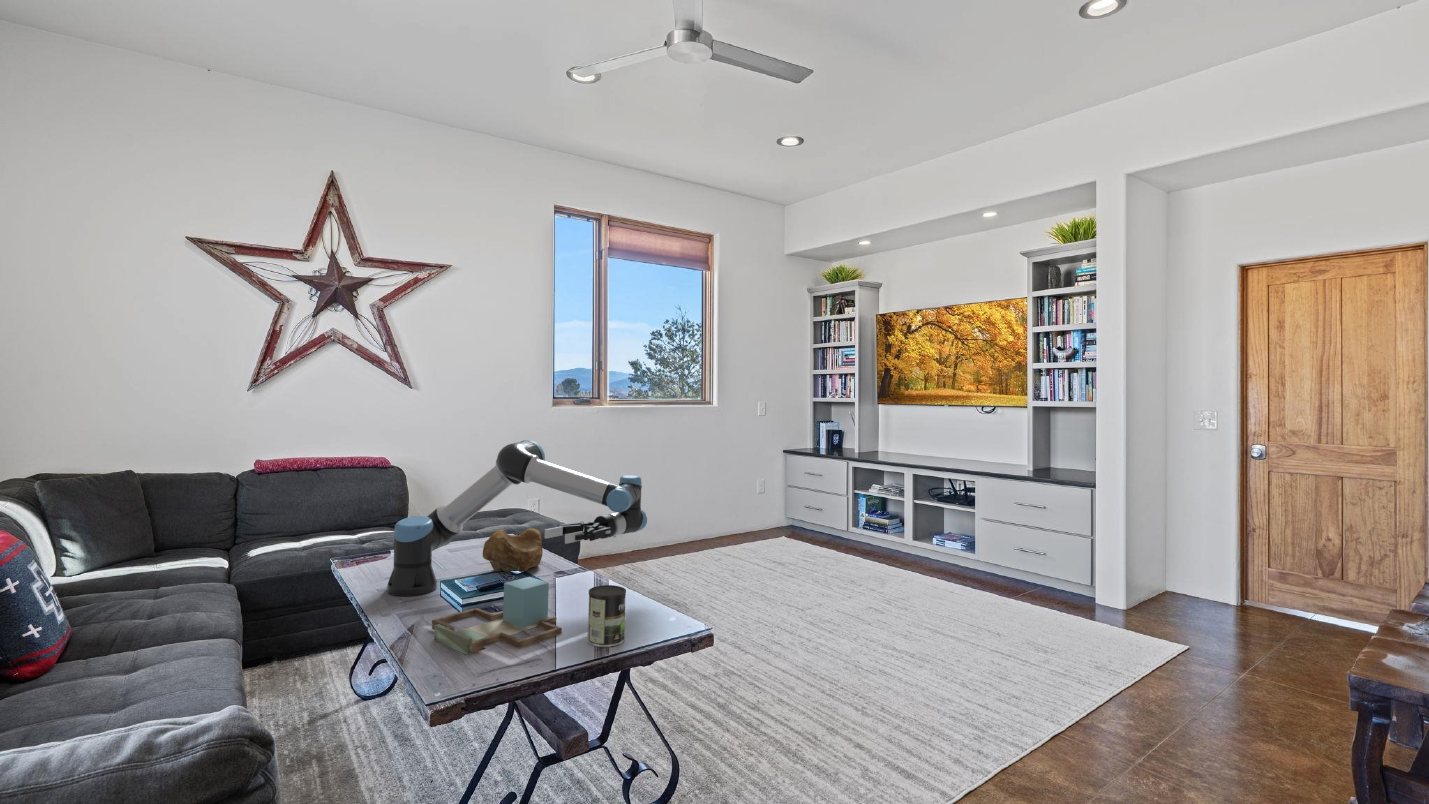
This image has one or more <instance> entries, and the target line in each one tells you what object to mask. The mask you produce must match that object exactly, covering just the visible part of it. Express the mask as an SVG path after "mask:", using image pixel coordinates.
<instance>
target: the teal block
mask: <svg viewBox="0 0 1429 804" xmlns="http://www.w3.org/2000/svg"><path fill="white" fill-rule="evenodd" d="M549 586H550V582H547V581H545V580H540V579H537V578H534V577H531V576H527V577H524V578H519V579H515V580H510V581H507V582H504V583H503V605H502V607H503V609H502V611H503V621H506V622H509V623H511V624H514V625H516V626H519V627H522V628H524V627H527V626H530V625H533V624H536V623H537V621H539V620H542V619H545V618H548V616H549V590H550V588H549Z"/></svg>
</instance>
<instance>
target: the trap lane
mask: <svg viewBox="0 0 1429 804" xmlns="http://www.w3.org/2000/svg"><path fill="white" fill-rule="evenodd" d="M473 616H476V617H477V616H478V617H480V618H482V619H485V620H488V621H487V622H483V623H480V624H477V625H473V626H470V627H467V628H465V629H461V630H457V631H456V630H455V626H454V625H451V624H448V623H451V622H454V621H458V620H462V619H465V618H469V617H473ZM554 623H557V616H555V615H551V616H549V617H548V618H545V619H542V620H539V621H537V623H536V624H533V625H530V626H527V627H524V628H522V627H519V626H516V625H514V624H511V623H509V622H506V621H503V610H502V611H499V612H494V613H491V612H489V611H486V610H484V609H481V608H479V607H474V608H471V609H467V610H464V611H460V612H456V613H453V614H449V615H446V616H442V617H438V618H435V619H431V629H432V630H433V631H434V638H433V639H434V641H436V642H438V643H440V644H443V645H445V646H447V647H449V648H452V649H453V650H456V651H458V652H460V653H462V654H464V655H466V656H468V655H471V654H474V653H477V652H481V651H483V650H486V649H487V648H485V646H488V645H491V644H494V643H498V642H499V641H500V642H503V643H506V644H508V645H511V646H513V647H515V648H518V649H520V648H523V647H526V646H528V645H531V644H535V643H537V642H540V641H543V640H546V639H549V638H552V637H555V636H558V635H561V634H562V631H563V628H562V627H561V626H558V625H555V624H554ZM536 627H538V628H540V629H543V630H545V631H542V632H539V633H537V634H533V635H530V636H527V637H525V638H521V639H519V638H516V637H514V636H513V635H514V634H518V633H522V632H524V631H527V630H530V629H533V628H536Z"/></svg>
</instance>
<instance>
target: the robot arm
mask: <svg viewBox="0 0 1429 804" xmlns="http://www.w3.org/2000/svg"><path fill="white" fill-rule="evenodd" d="M545 455H546V454H545V451H544V449H543V447H542V446H541V445H540V443H537V442H536V441H535V440H527V439H526V440H521V441H519V442H513V443H509V444H507V445H505V446H503V447H502V448H501V449H500V451H499V452H498V455H497V458H496V459H495V465H494V466H493V467H492V468H491V469H490V470H488V471H487V472H486V473H485V474H484V475H483V476H481V477H480V478H479V479H478V480H476V481H475V482H474V483H473V484H471V485H470V486H468V487H467V488H466V490H464V491H463V492H462V493H461V494H460V495H458V496H457V497H456V498H454V499H453V500H452V501H451V502H449V504H447V505H439V506H438V507H437V508H435V509H434V510H433V511H432V512H431V513H429V514H428V515H427V516H423V515H421V516H419V515H418V516H411V517H406V518H403V519H401V520H398V521H397V522H396V523H395V525H394V532H393V568H392V571H391V574H390V576H389V579H388V583H387V586H386V587H387V588H386V592H387V594H389V595H392V596H398V597H409V596H410V597H412V596H420V595H424V594H428V593H431V592H433V591H435V590H437V587H438V585H437V584H438V583H437V577H436V574H435V571H434V569H433V563H432V559H433V557H432V556H433V551H435V550H437V549H440V548H441V547H445V546H447V545H448V544H450V543H451V542H453V540H455V538H456V537H457V536H458V534H460V532H462V531H463V529H464V527H463V526H464V524H465V523H467V521H469V520H470V519H471V518H472V517H474V516H475V515H476V514H477V513H478V512H480V511H481V510H482V509H483V508H485V507H486V506H487V505H489V504H490V503H491V502H492V501H493V500H494V499H496V498H497V497H498V496H499V495H501V494H502V493H503V492H505V490H507V489H508V488H510V486H511V485H515V486H518V485H519V484H521V483H523V484H524V483H525V484H529V483H535V484H537V485H541V486H545V487H547V488H551V489H553V490H556V491H560V492H562V493H565V494H568V495H571V496H575V497H578V498H581V499H584V500H587V501H590V502H594V503H596V504H599V505H602V506H604V507H605V506H606V507H608V509H609V510H610V511H611V512H613V513H608V514H602V515H598V516H597V517H595V518H594V520H593V521H588V522H585V521H577V522H570V523H562V524H557V527H552V528H551V527H550V528H545V529H544V539H551V538H555V537H560V538H561V537H563V535H564V544H565V545H568V544H571V543H575V542H579V541H583V540H584V541H590V542H593V541H596V540H600V539H601V540H602V539H607V538H611V537H613V538H617V536H622V535H625V534H631V533H637V532H639V531H641V530H643V529H645V527H647V524H648V517H647V514H646V512H645V511H644V510H643V509H642V507H641V506H642V488H643V487H642V486H643V485H642V478H641V476H638V475H633V474H631V475H622V476H620V477H619V482H618V484H616V483H611V482H609V481H606V480H603V479H601V478H596V477H594V476H591V475H587V474H585V473H582V472H578V471H576V470H573V469H569V468H566V467H563V466H560V465H559V464H558V465H557V464H554V463H552V462H548V461H546V456H545Z"/></svg>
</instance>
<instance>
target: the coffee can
mask: <svg viewBox="0 0 1429 804" xmlns="http://www.w3.org/2000/svg"><path fill="white" fill-rule="evenodd" d="M626 593H627V589H626V588H624V587H622V586H619V585H614V584H613V585H611V584H607V585H605V584H604V585H597V586H593V587H591V588H589V590H588V621H587V626H588V627H587V644H589V645H590V646H592V647H593V646H594V647H596V646H597V648H612V647H611V646H614V647H617V645H618V646H619V645H622V644H623V643H624V642H625V627H626V626H625V624H626V619H625V618H626V597H627V596H626Z"/></svg>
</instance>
